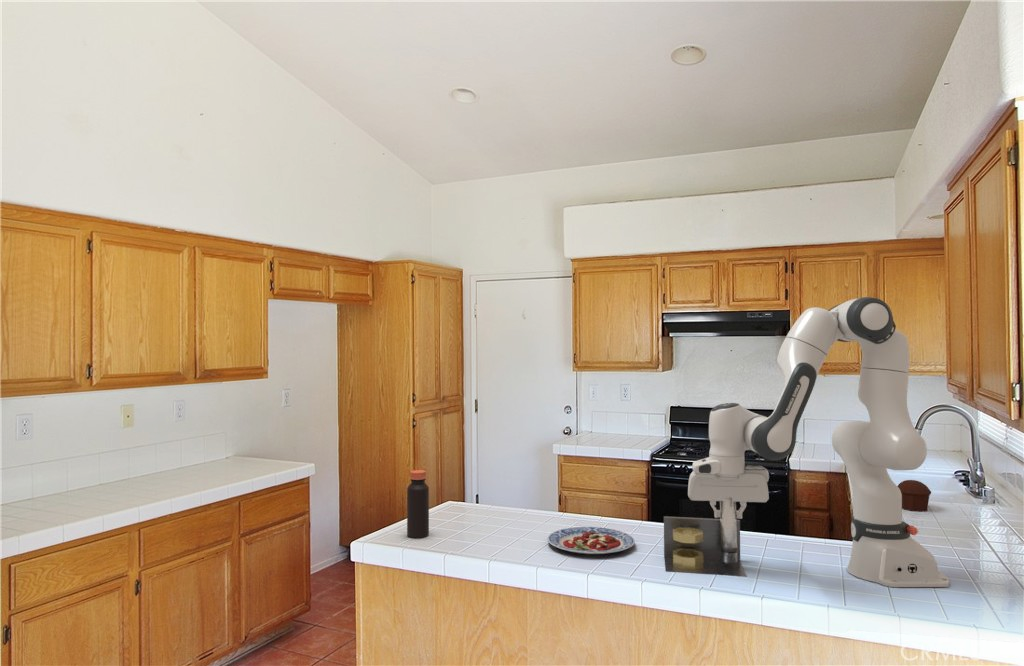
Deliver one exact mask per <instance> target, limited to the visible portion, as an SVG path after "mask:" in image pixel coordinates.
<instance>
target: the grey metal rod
mask: <svg viewBox="0 0 1024 666" xmlns="http://www.w3.org/2000/svg"><path fill="white" fill-rule="evenodd" d="M719 510H720V511H721V518H719V519H720V526H721V560H722V561H723V562H726V563H736V562H737V552H738V551H737V527H736V520H737V519H736V511H737V502H734V501H733V500H732V497H725V501H719Z"/></svg>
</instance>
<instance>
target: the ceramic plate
mask: <svg viewBox="0 0 1024 666" xmlns="http://www.w3.org/2000/svg"><path fill="white" fill-rule="evenodd" d="M546 540H547V542H548V543H549V544H550V545H552V546H553V547H555V548H558V549H560V550H564V551H566V552H571V553H576V554H580V555H582V554H583V555H597V556H598V555H607V554H611V553H612V554H613V553H618V552H622V551H625V550H627V549H630V548H632V547H633V546H634V544H636V543H635V541H636V540H635V538H634V537H633V536H632V535H630V534H628V533H627V532H625V531H624V532H623V531H621V530H617V529H614V528H607V527H598V526H575V527H567V528H562V529H558V530H554V531H553V532H552V533H550V534H549V535H548V536H547V539H546Z"/></svg>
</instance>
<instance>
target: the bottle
mask: <svg viewBox="0 0 1024 666" xmlns="http://www.w3.org/2000/svg"><path fill="white" fill-rule="evenodd" d="M409 478H410V484H409V485H408V486H407V488H406V499H407V500H406V509H407V510H406V513H407V514H406V517H407V518H406V519H407V520H406V524H407V525H406V529H407V531H406V533H407V534H406V535H407V537H408V538H412V539H424V538H425V537H428V536H429V534H430V525H429V523H430V522H429V521H430V511H429V510H430V501H429V500H430V488H429V485H427V484H426V479H427V471H426V470H423V469H415V470H411V471H409Z"/></svg>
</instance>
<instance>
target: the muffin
mask: <svg viewBox="0 0 1024 666" xmlns="http://www.w3.org/2000/svg"><path fill="white" fill-rule="evenodd" d="M897 486H898V488H899V489H900V491H901V494H902V510H904V511H909V512H921V513H923V512H928V508H929V501H930V500H929V499H930V495H931V494H932V491H931V490H930V488H929V487H928V486H927V485H926V484H925V483H923V482H922V481H919V480H915V479H905V480H903V481H901V482H900V483H898V485H897Z"/></svg>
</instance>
